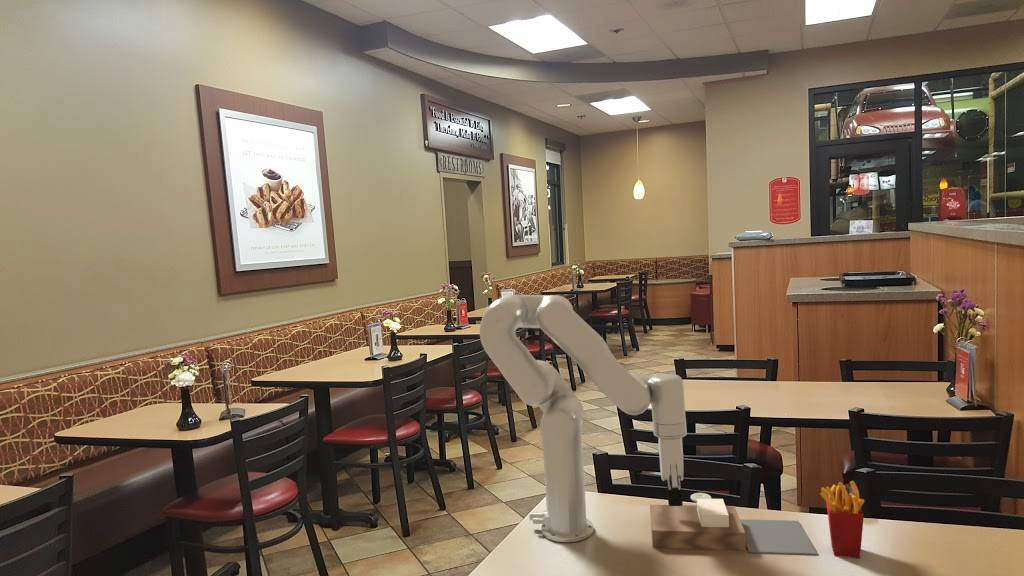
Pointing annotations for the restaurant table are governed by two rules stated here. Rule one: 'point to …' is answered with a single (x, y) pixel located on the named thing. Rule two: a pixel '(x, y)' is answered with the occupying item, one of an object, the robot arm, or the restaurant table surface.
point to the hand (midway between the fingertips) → (675, 504)
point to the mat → (776, 537)
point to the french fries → (844, 520)
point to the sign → (700, 496)
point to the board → (693, 529)
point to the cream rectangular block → (712, 513)
